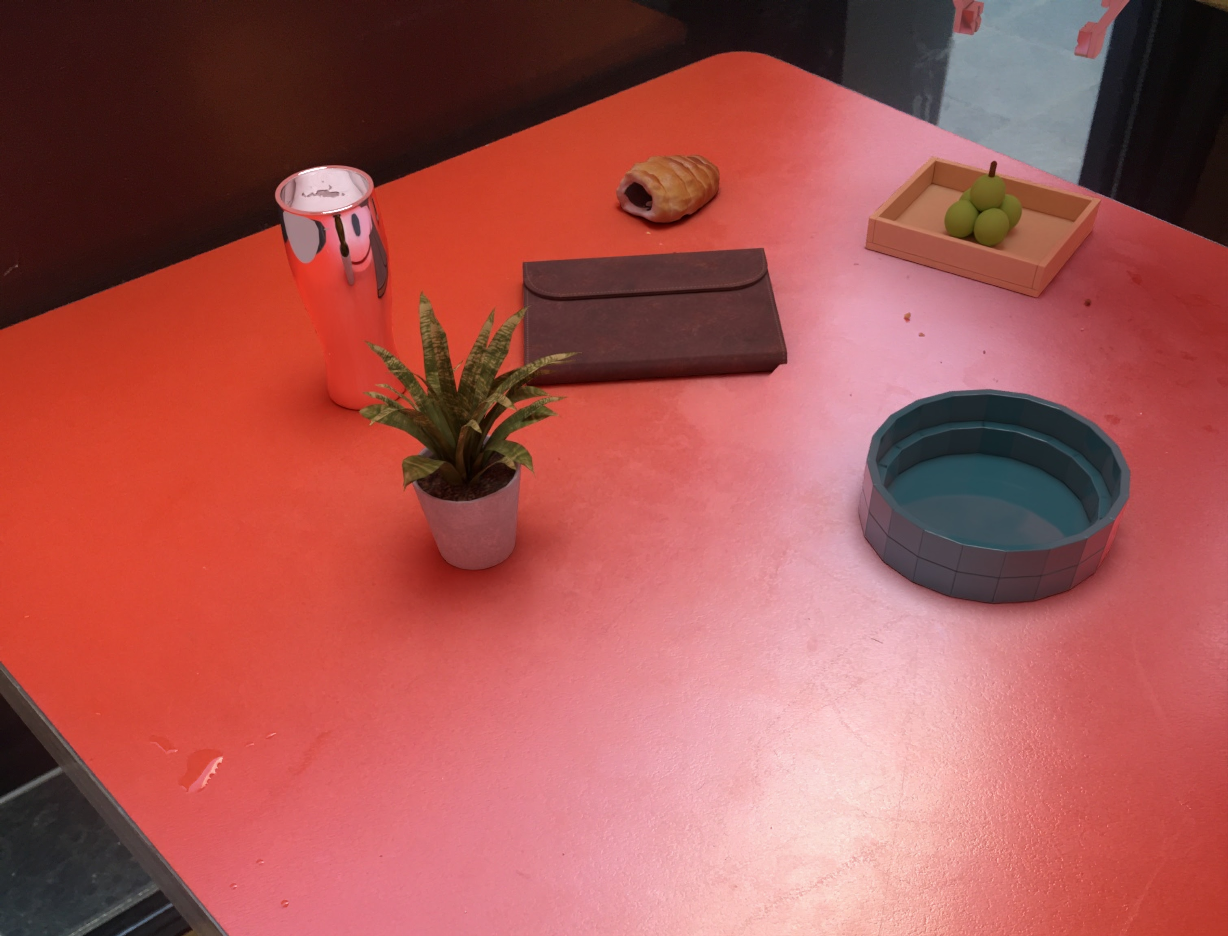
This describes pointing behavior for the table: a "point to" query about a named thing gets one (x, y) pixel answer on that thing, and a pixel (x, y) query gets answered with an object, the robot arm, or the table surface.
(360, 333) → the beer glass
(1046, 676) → the table surface
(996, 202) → the grapes
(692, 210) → the pastry
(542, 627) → the table surface
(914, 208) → the tray
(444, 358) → the house plant
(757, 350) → the notebook
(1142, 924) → the table surface
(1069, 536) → the bowl
